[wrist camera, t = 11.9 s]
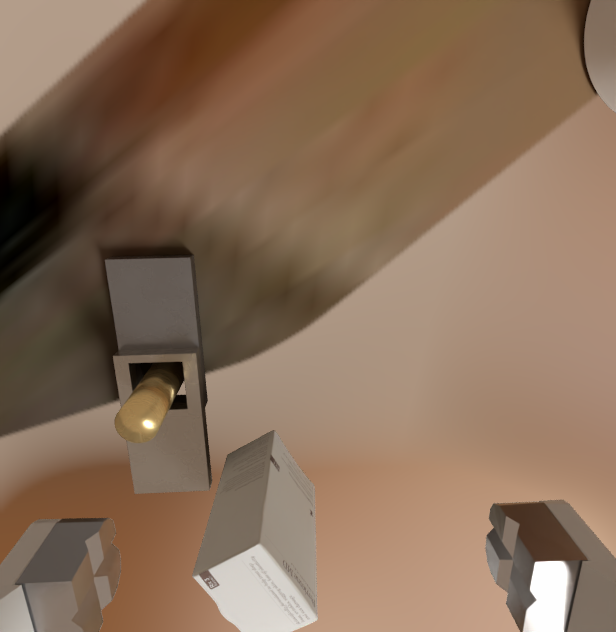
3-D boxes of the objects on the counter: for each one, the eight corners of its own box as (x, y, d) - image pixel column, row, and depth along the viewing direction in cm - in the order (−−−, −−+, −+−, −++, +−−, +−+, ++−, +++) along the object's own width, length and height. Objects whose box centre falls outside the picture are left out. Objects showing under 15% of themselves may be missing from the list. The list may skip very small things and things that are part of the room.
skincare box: (315, 484, 46) (327, 622, 32) (266, 511, 47) (256, 657, 32) (271, 424, 44) (263, 544, 29) (220, 453, 44) (188, 583, 30)
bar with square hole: (193, 254, 38) (186, 260, 36) (214, 471, 45) (209, 490, 42) (111, 256, 38) (97, 262, 35) (144, 474, 45) (134, 493, 42)
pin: (183, 356, 41) (155, 404, 33) (187, 387, 42) (161, 442, 33) (148, 357, 41) (111, 405, 32) (152, 389, 42) (118, 443, 33)
